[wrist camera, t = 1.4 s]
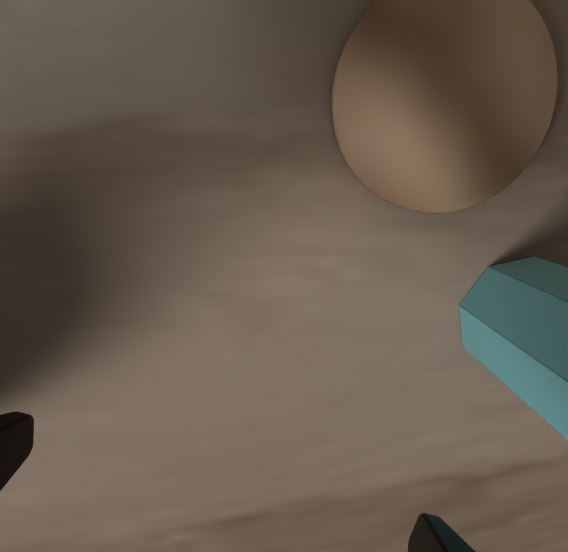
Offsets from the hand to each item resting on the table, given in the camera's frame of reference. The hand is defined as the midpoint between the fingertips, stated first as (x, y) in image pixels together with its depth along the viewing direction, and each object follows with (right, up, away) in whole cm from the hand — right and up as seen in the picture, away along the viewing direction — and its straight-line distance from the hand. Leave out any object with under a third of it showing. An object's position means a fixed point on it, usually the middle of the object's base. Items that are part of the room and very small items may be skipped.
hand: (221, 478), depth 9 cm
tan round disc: (+9, +13, +10) cm, 18 cm away
